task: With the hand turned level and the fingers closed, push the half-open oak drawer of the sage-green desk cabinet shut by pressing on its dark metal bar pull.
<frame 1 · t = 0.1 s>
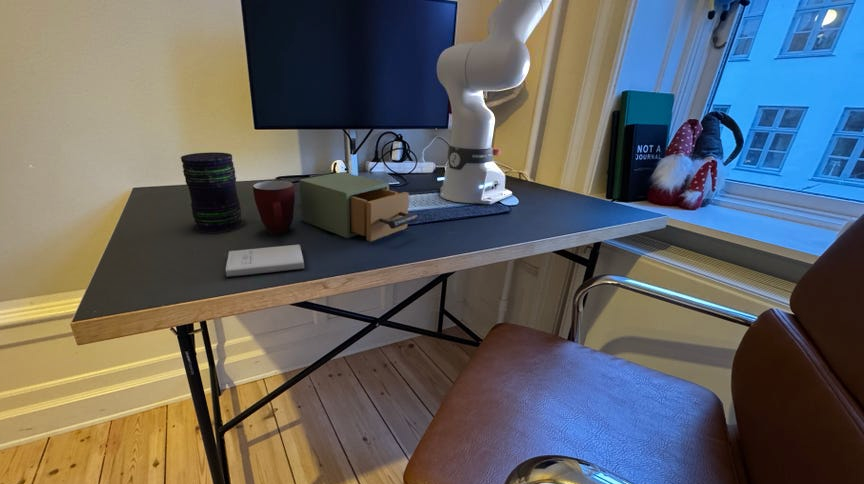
cabinet: (345, 222, 85), on the table
hard drive: (266, 264, 65), on the table
drawer: (372, 211, 77), point 5 cm above the table, slide at 5.0 cm
storage jar: (220, 226, 82), on the table
mug: (280, 233, 78), on the table
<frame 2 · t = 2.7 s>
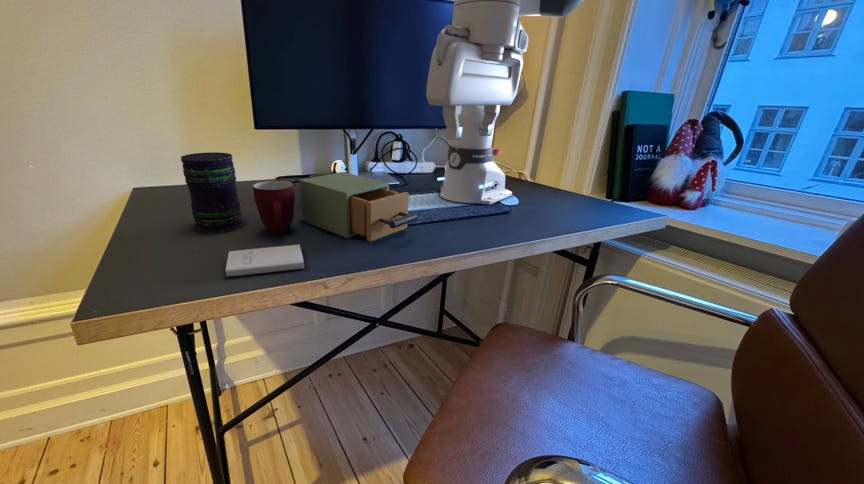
hand: (469, 137, 57), 21 cm above the table, tool pointing down, fingers open, 8 cm apart
nothing on the table moved.
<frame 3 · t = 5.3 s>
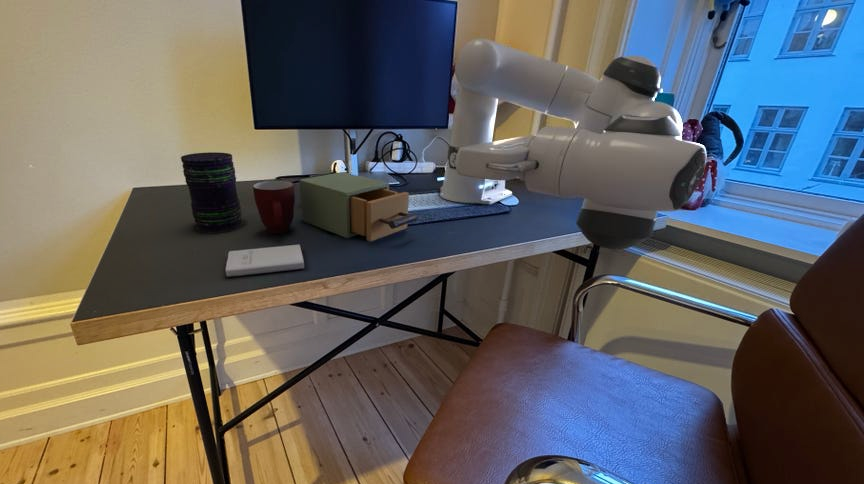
hand: (463, 149, 59), 20 cm above the table, tool horizontal, fingers closed
nothing on the table moved.
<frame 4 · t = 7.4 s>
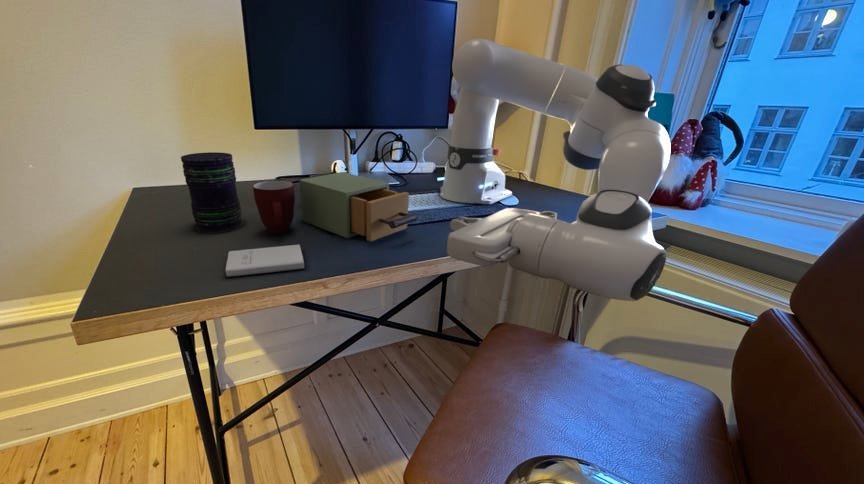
hand: (454, 222, 64), 7 cm above the table, tool horizontal, fingers closed
nothing on the table moved.
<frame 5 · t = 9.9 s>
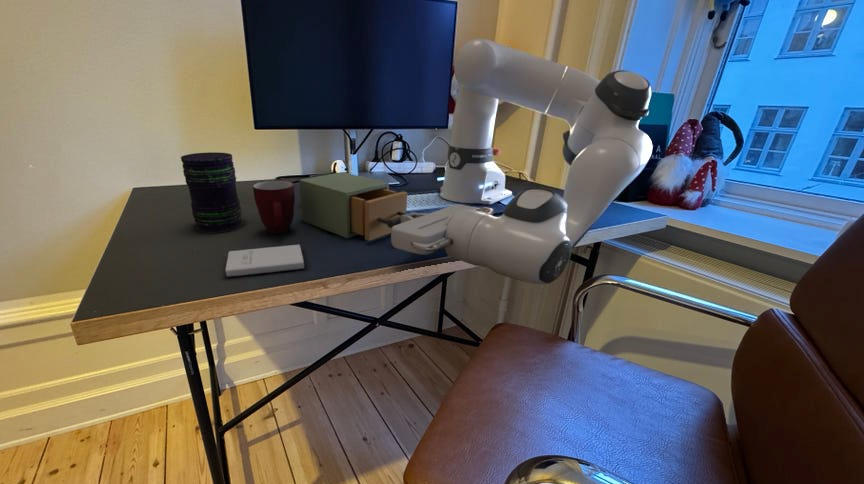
hand: (405, 217, 72), 6 cm above the table, tool horizontal, fingers closed, pressing on drawer
drawer: (370, 210, 78), point 5 cm above the table, slide at 4.5 cm, touching gripper
everything else where it was.
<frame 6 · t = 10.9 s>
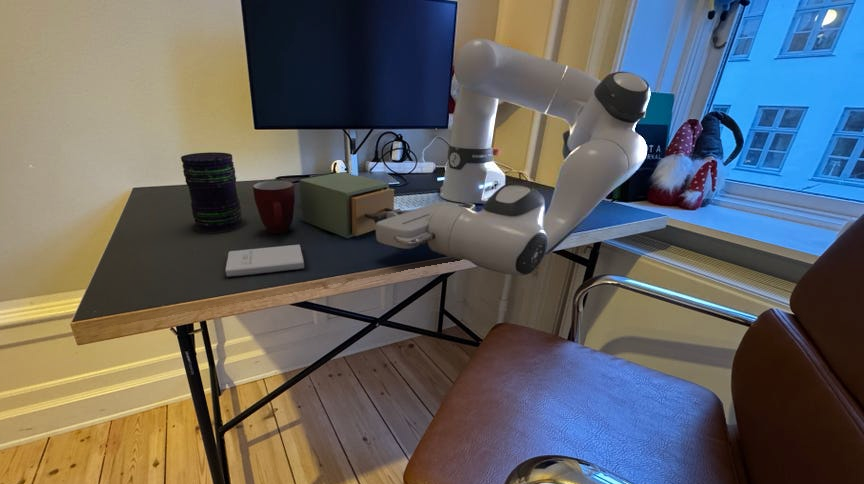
hand: (391, 214, 74), 5 cm above the table, tool horizontal, fingers closed
drawer: (359, 207, 80), point 5 cm above the table, slide at 0.9 cm, touching gripper
everything else where it was.
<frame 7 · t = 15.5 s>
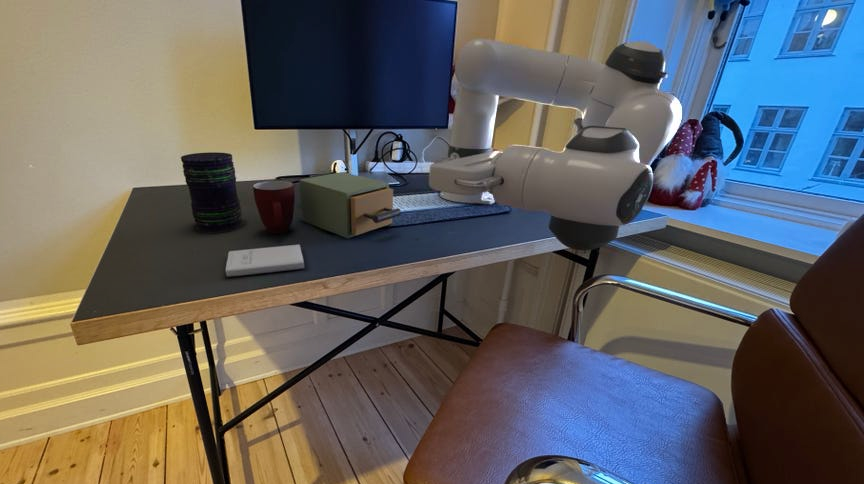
hand: (439, 163, 62), 17 cm above the table, tool horizontal, fingers closed
drawer: (358, 206, 80), point 5 cm above the table, slide at 0.6 cm
everything else where it was.
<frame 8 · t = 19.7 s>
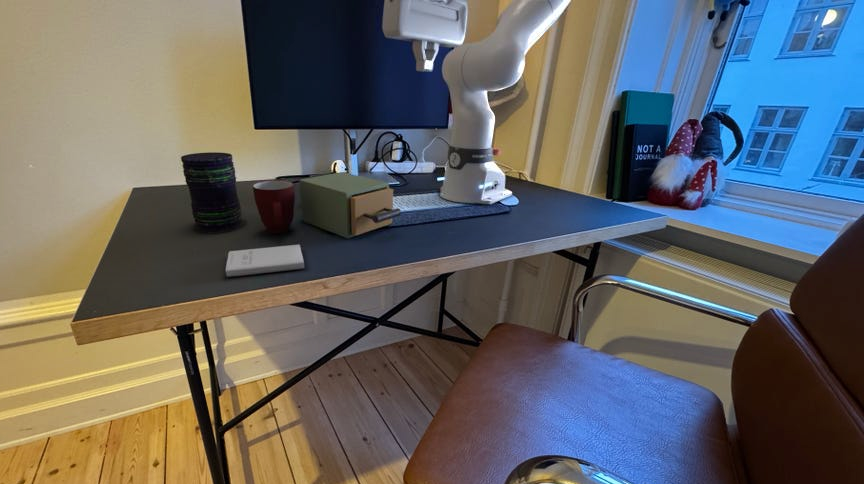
hand: (424, 71, 69), 31 cm above the table, tool pointing down, fingers closed
nothing on the table moved.
at the end: drawer slide at 0.6 cm; mug moved 0.2 cm from its start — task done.
